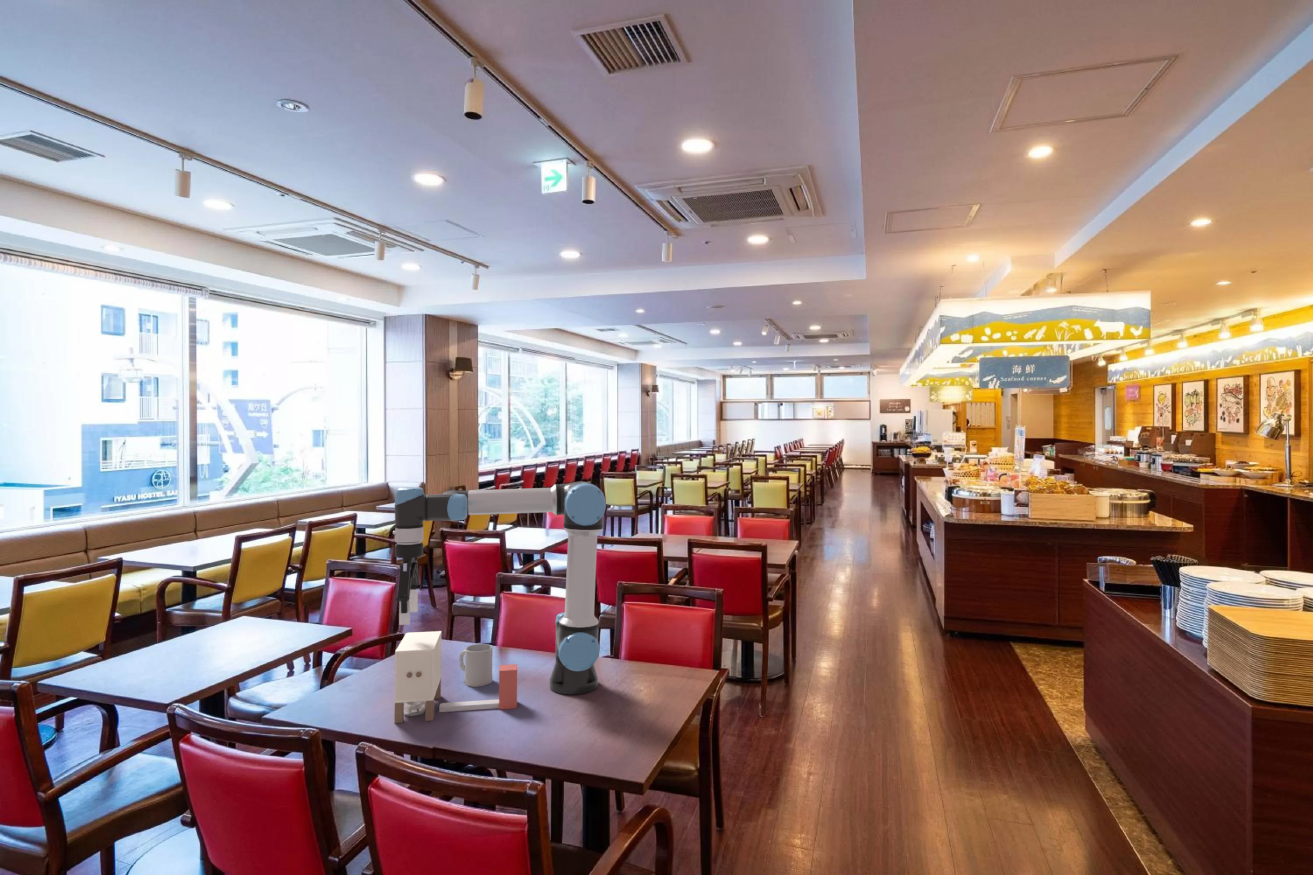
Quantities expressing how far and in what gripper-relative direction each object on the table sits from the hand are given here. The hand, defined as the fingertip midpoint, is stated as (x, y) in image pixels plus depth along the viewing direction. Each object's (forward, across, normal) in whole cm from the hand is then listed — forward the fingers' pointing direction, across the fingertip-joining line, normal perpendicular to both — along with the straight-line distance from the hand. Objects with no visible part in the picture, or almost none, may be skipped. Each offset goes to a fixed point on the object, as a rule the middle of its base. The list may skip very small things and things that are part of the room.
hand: (408, 618), depth 187 cm
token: (+27, -1, +1) cm, 27 cm away
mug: (+27, -23, +16) cm, 39 cm away
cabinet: (+27, -3, +2) cm, 27 cm away
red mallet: (+27, -1, +19) cm, 33 cm away
